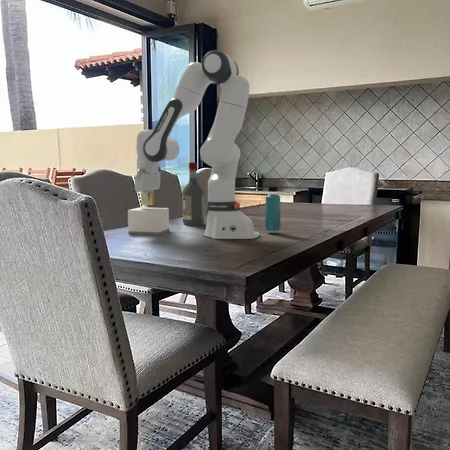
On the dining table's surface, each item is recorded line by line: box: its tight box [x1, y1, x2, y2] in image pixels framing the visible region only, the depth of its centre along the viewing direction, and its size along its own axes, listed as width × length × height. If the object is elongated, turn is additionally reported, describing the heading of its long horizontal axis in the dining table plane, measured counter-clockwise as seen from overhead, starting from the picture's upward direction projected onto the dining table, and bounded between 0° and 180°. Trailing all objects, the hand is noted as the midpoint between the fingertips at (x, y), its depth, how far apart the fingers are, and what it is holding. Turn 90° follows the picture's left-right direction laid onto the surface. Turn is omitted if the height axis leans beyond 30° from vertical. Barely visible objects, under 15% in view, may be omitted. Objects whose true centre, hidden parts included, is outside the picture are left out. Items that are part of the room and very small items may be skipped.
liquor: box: [181, 162, 205, 227], centre depth 217 cm, size 9×9×30 cm
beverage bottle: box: [264, 185, 282, 232], centre depth 188 cm, size 6×7×20 cm
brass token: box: [140, 192, 155, 206], centre depth 192 cm, size 5×2×5 cm, turn 77°
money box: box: [127, 207, 170, 236], centre depth 194 cm, size 14×12×10 cm
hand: (148, 201), depth 193 cm, fingers closed on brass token, 2 cm apart
